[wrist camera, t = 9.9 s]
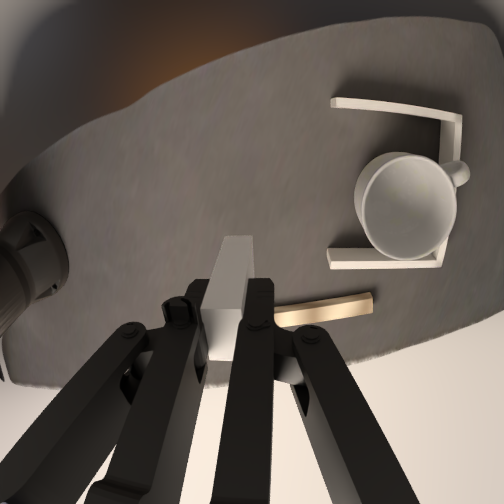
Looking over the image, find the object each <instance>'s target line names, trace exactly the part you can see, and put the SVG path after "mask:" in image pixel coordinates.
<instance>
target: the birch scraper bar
mask: <svg viewBox="0 0 504 504" xmlns="http://www.w3.org/2000/svg"><path fill="white" fill-rule="evenodd" d="M372 310H373V298H372V296H371V293H370V292H367V293H362V294H356V295H350V296H345V297H339V298H333V299H326V300H320V301H314V302H307V303H300V304H294V305H287V306H279V307H274V320H275V322H276V324H277V325H278V326H279V327H286V326H293V325H300V324H307V323H314V322H321V321H327V320H333V319H340V318H345V317H351V316H357V315H363V314H368V313H372Z"/></svg>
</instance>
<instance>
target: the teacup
mask: <svg viewBox="0 0 504 504" xmlns="http://www.w3.org/2000/svg"><path fill="white" fill-rule="evenodd" d="M469 177H470V170H469V168H468V166H467V164H466V163H465V162H463V161H459V160H457V161H450V162H447V163H444V164H441V165H439V164H437V163H436V162H435V161H433V160H431V159H429V158H427V157H425V156H421V155H414V154H410V153H405V152H390V153H385V154H382V155H380V156H378V157H376V158H375V159H373V160H372V161H370V162H369V163H368V164H367V165H366V166H365V168H364V169H363V170H362V172H361V173H360V175H359V177H358V180H357V183H356V186H355V192H354V202H355V209H356V212H357V215H358V218H359V220H360V222H361V224H362V226H363V228H364V231H365V233H366V235H367V237H368V239H369V241H370V242H371V243H372V245H373V246H374V247H375V248H376V249H377V250H378V251H379V252H381V253H382V254H384V255H386V256H388V257H390V258H393V259H397V260H415V259H419V258H422V257H424V256H427V255H429V254H431V253H432V252H433V251H435V250H436V249H437V248H438V247H439V246H440V245H441V244H442V243H443V242H444V241H445V240H446V239H447V237H448V236H449V234H450V232H451V230H452V227H453V225H454V222H455V218H456V213H457V201H456V194H455V189H454V188H455V187H458V186H460V185H462V184H464V183H466V182H467V181H468V179H469Z"/></svg>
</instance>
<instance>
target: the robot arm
mask: <svg viewBox="0 0 504 504" xmlns="http://www.w3.org/2000/svg"><path fill="white" fill-rule="evenodd" d="M68 271H69V266H68V259H67V255H66V251H65V248H64V246H63V243H62V241H61V239H60V237H59V236H58V234H57V233H56V231H55V230H54V228H53V227H52V226H51V225H50V224H49V222H48V221H46V220H45V219H44V218H43V217H42V216H40V215H38V214H37V213H34V212H31V211H22V212H20V213H18V214H16V215H15V216H13V217H11V218H10V219H9V220H8V221H7V222H6V223H5V225H4V226H3V227H2V229H1V230H0V338H1V337H2V335H3V334H4V333H5V332H6V331H7V330H8V328H9V327H10V326H11V325H12V324H13V323H14V322H15V320H16V319H17V318H18V317H19V316H20V315H21V314H22V313H23V312H24V311H25V310H26V308H28V307H29V306H30V305H31V304H34V303H36V302H38V301H41V300H43V299H45V298H48V297H50V296H52V295H54V294H55V293H57V292H58V291H59V290H60V289H61V288H62V287H63V286H64V284H65V283H66V281H67V278H68ZM161 306H162V310H163V314H164V318H165V322H166V323H165V325H164V327H161V328H157V329H151V330H146V327H145V326H144V325H143V324H142V323H139V322H128V323H126V324H123V325H121V326H120V327H119V328H118V329H117V330H116V331H115V332H114V333H113V334H112V335H111V336H110V337H109V338H108V339H107V340H106V341H105V342H104V343H103V345H102V346H101V347H100V348H99V349H98V350H97V351H96V352H95V353H94V354H93V355H92V356H91V358H90V359H89V360H88V361H87V362H86V363H85V364H84V365H83V366H82V367H81V369H80V370H79V371H78V372H77V373H76V374H75V375H74V376H73V377H72V379H71V380H70V381H69V382H68V383H67V384H66V385H65V386H64V387H63V389H62V390H61V391H60V392H59V393H58V394H57V395H56V397H55V398H54V399H53V400H52V401H51V402H50V404H49V405H48V406H47V407H46V408H45V409H44V410H43V412H42V413H41V414H40V415H39V416H38V418H37V419H36V420H35V421H34V422H33V424H32V425H31V426H30V427H29V428H28V429H27V431H26V432H25V433H24V434H23V435H22V437H21V438H20V439H19V440H18V442H17V443H16V444H15V445H14V447H13V448H12V449H11V450H10V451H9V453H8V454H7V455H6V456H5V458H4V459H3V460H2V461H1V463H0V504H76V502H77V501H78V499H79V498H80V496H81V495H82V494H83V492H84V491H85V489H86V488H87V486H88V485H89V483H90V482H91V480H92V479H93V477H94V476H95V475H96V473H97V472H98V470H99V469H100V467H101V466H102V464H103V463H104V461H105V460H106V458H107V457H108V455H109V454H110V452H111V451H112V450H113V448H114V447H115V445H116V447H115V450H114V453H113V456H112V458H111V461H110V464H109V467H108V470H107V473H106V475H105V477H104V478H103V479H102V480H99V481H96V482H94V483H93V484H92V485H91V487H90V489H89V490H88V493H87V496H86V499H85V501H84V504H179V502H180V497H181V491H182V487H183V482H184V477H185V472H186V467H187V463H188V458H189V453H190V448H191V444H192V439H193V434H194V429H195V425H196V420H197V416H198V410H199V406H200V402H201V397H202V393H203V388H204V384H205V379H206V375H207V370H208V367H207V361H206V359H207V355H208V353H209V358H210V360H222V361H233V362H232V368H231V374H230V381H229V387H228V394H227V400H226V407H225V413H224V419H223V426H222V432H221V439H220V445H219V452H218V459H217V465H216V471H215V478H214V484H213V491H212V497H211V501H210V504H270V484H271V460H272V431H273V392H274V380H277V381H281V382H285V383H289V384H290V387H291V390H292V393H293V395H294V398H295V401H296V404H297V407H298V409H299V412H300V415H301V418H302V421H303V423H304V426H305V429H306V432H307V435H308V437H309V440H310V443H311V446H312V448H313V451H314V454H315V457H316V459H317V462H318V465H319V468H320V470H321V473H322V476H323V479H324V481H325V484H326V487H327V489H328V492H329V495H330V498H331V500H332V503H333V504H420V503H419V501H418V499H417V497H416V495H415V493H414V491H413V489H412V487H411V485H410V483H409V481H408V479H407V477H406V475H405V473H404V471H403V469H402V467H401V466H400V464H399V462H398V460H397V458H396V456H395V454H394V452H393V450H392V448H391V446H390V444H389V443H388V441H387V439H386V437H385V435H384V433H383V431H382V429H381V427H380V426H379V424H378V422H377V420H376V418H375V416H374V414H373V413H372V411H371V409H370V407H369V405H368V403H367V402H366V400H365V398H364V396H363V394H362V392H361V391H360V389H359V387H358V385H357V383H356V382H355V380H354V378H353V376H352V374H351V372H350V371H349V369H348V367H347V365H346V364H345V362H344V360H343V358H342V356H341V355H340V353H339V351H338V349H337V347H336V346H335V344H334V342H333V340H332V339H331V337H330V335H329V333H328V332H327V331H326V330H325V329H323V328H321V327H320V326H315V325H305V326H302V327H299V328H298V329H296V330H295V331H294V332H292V331H288V330H284V329H282V328H281V327H279V326H278V325H277V324H276V322H275V320H274V283H273V282H272V281H271V279H270V278H254V260H253V239H252V235H245V236H225V237H224V240H223V243H222V246H221V249H220V252H219V255H218V257H217V260H216V263H215V266H214V269H213V272H212V275H211V278H210V279H195V280H194V281H193V282H192V283H191V284H190V285H189V286H188V289H187V291H186V293H185V296H178V297H173V298H170V299H168V300H166V301H165V302H164V303H163V304H162V305H161ZM127 369H129V370H128V371H127ZM126 371H127V372H126ZM125 372H126V373H125ZM124 373H125V374H124Z"/></svg>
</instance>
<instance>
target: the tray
mask: <svg viewBox="0 0 504 504" xmlns="http://www.w3.org/2000/svg"><path fill="white" fill-rule="evenodd" d="M331 107H333V108H350V109H363V110H374V111H384V112H392V113H400V114H408V115H415V116H421V117H427V118H433V119H439V120H441V130H440V149H439V162H438V164H439V165H441V164H444V163H447V162H450V161H457V160H459V161H460V151H461V135H462V115H460V114H455V113H451V112H446V111H441V110H436V109H430V108H425V107H419V106H413V105H406V104H399V103H392V102H383V101H374V100H364V99H352V98H337V97H336V98H332V99H331ZM454 189H455V194H456V189H457V187H455V188H454ZM447 240H448V237H447V239H446V240H445V241H444V242H443V243H442V244H441V245H440V246H439V247H438V248H437V249H436V250H435V251H433V252H432V253H431V254H429V255H427V256H424V257H422V258H419V259H415V260H397V259H393V258H390V257H388V256H386V255H384V254H382V253H381V252H379V251H378V250H377V249H376V248H327V258H328V262H329V266H330V269H381V268H432V267H441V266H442V262H443V258H444V254H445V250H446V245H447Z"/></svg>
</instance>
